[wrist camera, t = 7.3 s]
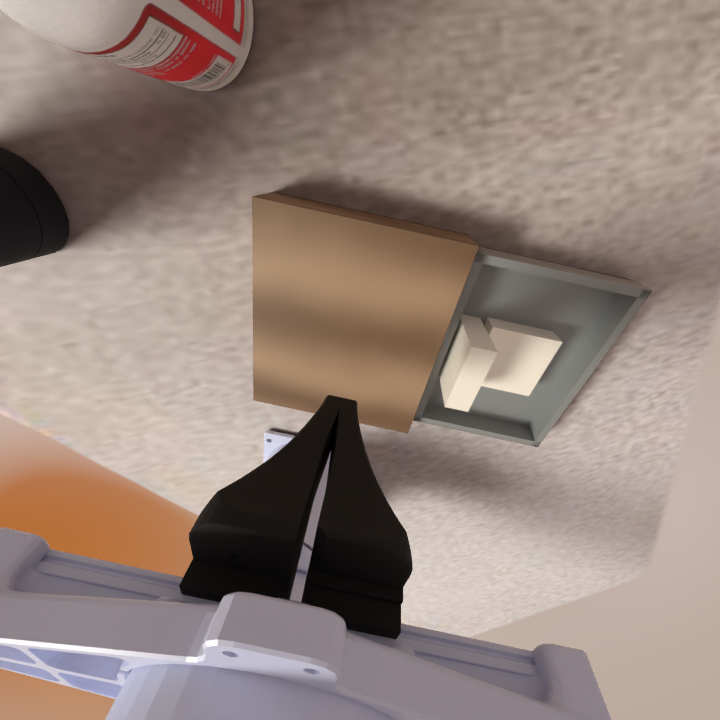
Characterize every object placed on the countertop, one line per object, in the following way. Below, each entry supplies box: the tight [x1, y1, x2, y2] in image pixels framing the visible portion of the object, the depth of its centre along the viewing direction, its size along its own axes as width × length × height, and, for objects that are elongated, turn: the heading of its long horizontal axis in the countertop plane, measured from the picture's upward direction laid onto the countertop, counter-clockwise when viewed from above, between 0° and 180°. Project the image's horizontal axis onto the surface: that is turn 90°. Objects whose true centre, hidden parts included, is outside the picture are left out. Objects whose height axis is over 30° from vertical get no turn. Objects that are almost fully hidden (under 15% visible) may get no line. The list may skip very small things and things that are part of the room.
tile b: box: [481, 317, 563, 396], centre depth 22 cm, size 4×4×2 cm
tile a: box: [439, 314, 498, 412], centre depth 20 cm, size 4×4×2 cm
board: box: [252, 192, 479, 433], centre depth 21 cm, size 14×12×3 cm
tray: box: [413, 247, 652, 447], centre depth 22 cm, size 13×10×2 cm
